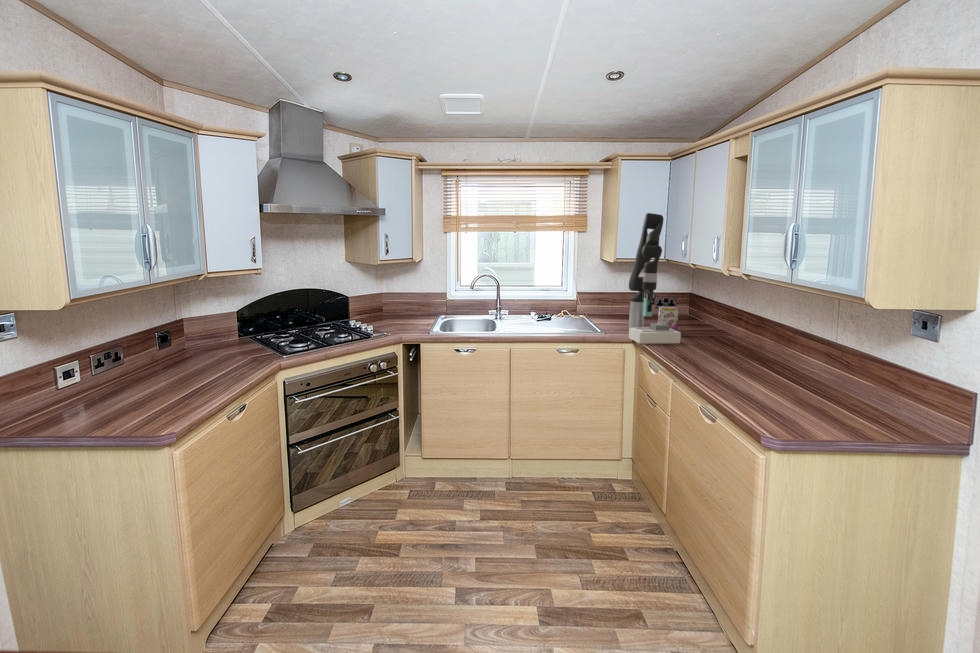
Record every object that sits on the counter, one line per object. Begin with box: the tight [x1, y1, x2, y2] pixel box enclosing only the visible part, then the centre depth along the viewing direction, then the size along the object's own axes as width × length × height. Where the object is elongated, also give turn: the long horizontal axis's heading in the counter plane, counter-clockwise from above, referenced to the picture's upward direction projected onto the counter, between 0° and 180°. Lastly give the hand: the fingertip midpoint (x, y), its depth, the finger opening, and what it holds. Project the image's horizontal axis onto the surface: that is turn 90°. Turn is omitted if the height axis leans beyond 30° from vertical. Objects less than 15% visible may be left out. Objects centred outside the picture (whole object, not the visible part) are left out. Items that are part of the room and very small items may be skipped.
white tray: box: [628, 326, 682, 345], centre depth 299 cm, size 16×24×7 cm, turn 96°
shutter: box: [649, 321, 670, 330], centre depth 299 cm, size 8×8×4 cm
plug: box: [643, 298, 654, 317], centre depth 296 cm, size 4×4×10 cm
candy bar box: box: [657, 306, 680, 331], centre depth 320 cm, size 11×5×16 cm, turn 84°
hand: (647, 310), depth 296 cm, fingers closed on plug, 4 cm apart
